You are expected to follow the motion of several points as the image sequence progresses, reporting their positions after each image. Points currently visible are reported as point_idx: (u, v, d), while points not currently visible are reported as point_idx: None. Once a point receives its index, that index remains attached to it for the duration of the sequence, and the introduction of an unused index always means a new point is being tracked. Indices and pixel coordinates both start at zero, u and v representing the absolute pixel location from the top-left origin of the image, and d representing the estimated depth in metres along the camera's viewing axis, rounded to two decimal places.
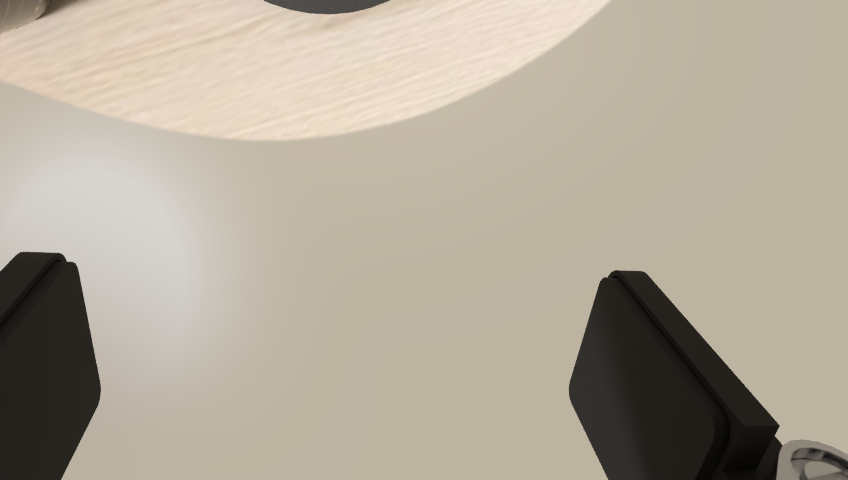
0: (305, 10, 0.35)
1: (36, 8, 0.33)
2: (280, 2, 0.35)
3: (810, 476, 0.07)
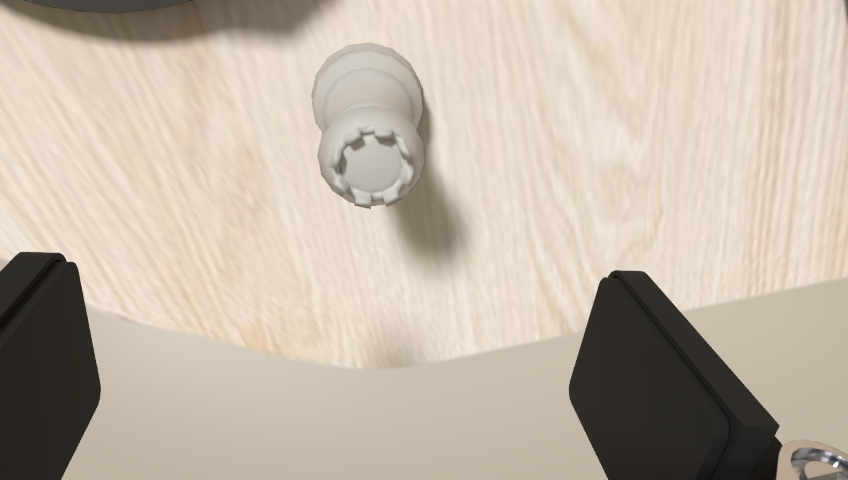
0: None
1: None
2: None
3: (810, 476, 0.07)
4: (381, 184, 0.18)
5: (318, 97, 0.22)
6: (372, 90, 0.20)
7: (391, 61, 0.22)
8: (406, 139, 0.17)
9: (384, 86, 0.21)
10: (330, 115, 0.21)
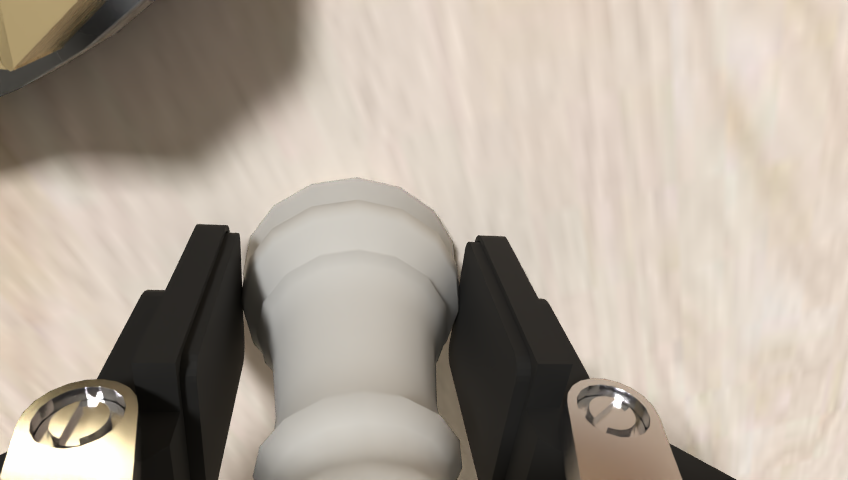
0: None
1: None
2: None
3: (595, 414, 0.08)
4: None
5: (250, 298, 0.11)
6: (363, 324, 0.09)
7: (401, 227, 0.10)
8: None
9: (389, 298, 0.09)
10: (272, 356, 0.10)
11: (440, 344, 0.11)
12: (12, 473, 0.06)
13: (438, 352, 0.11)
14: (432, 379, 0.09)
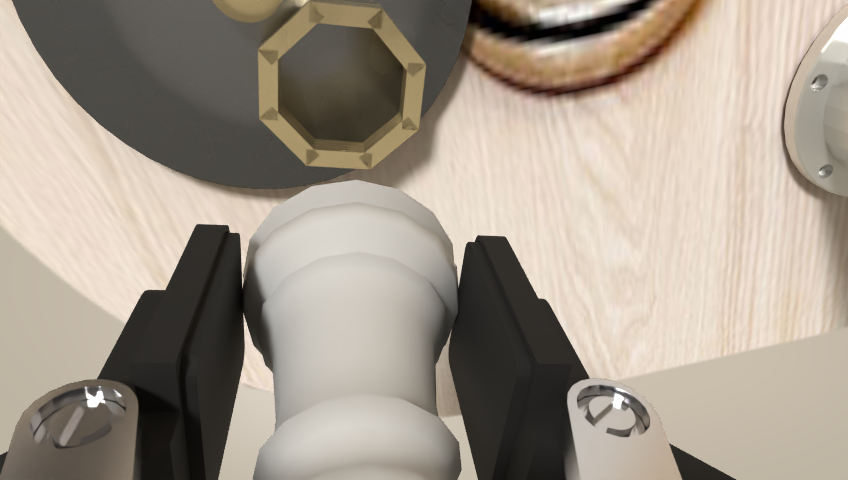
0: None
1: None
2: None
3: (595, 414, 0.08)
4: None
5: (250, 300, 0.11)
6: (363, 327, 0.09)
7: (400, 229, 0.10)
8: None
9: (389, 300, 0.09)
10: (272, 358, 0.10)
11: (440, 346, 0.11)
12: (12, 473, 0.06)
13: (438, 354, 0.11)
14: (432, 381, 0.09)
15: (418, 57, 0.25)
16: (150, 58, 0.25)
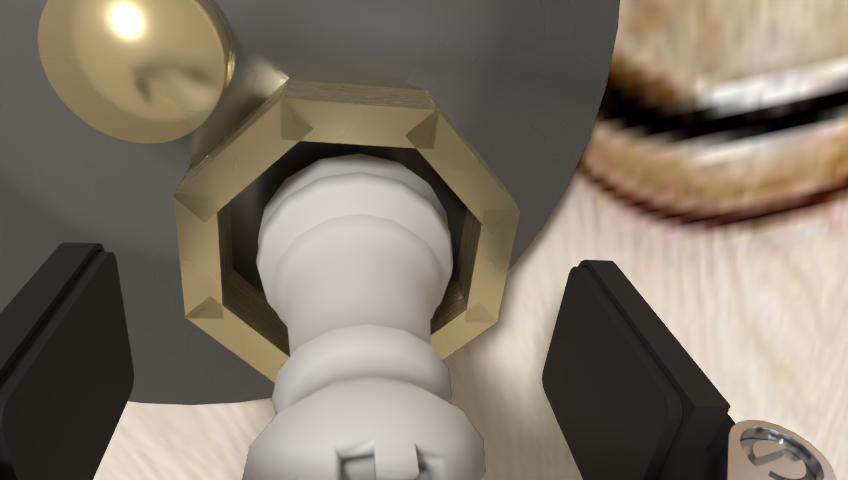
0: None
1: None
2: None
3: (759, 455, 0.07)
4: None
5: (265, 260, 0.12)
6: (366, 274, 0.10)
7: (399, 195, 0.12)
8: (450, 460, 0.07)
9: (389, 255, 0.11)
10: (285, 307, 0.11)
11: (435, 301, 0.12)
12: None
13: (433, 309, 0.12)
14: (426, 323, 0.10)
15: (506, 199, 0.12)
16: None
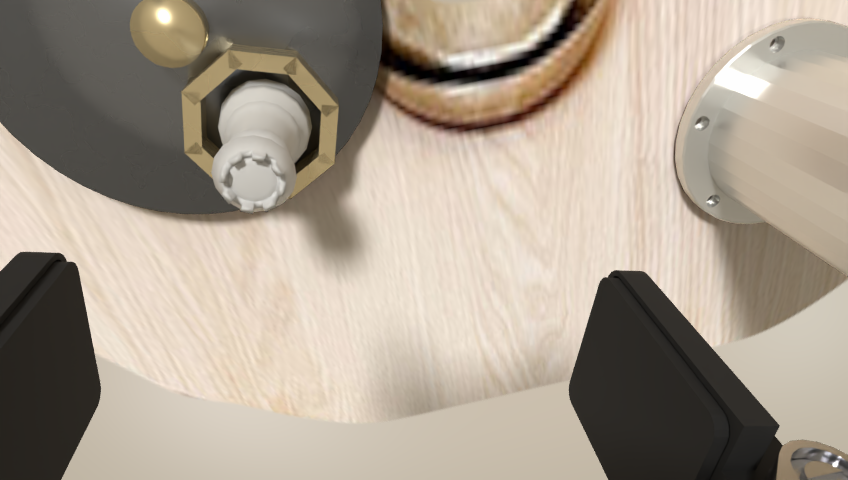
0: None
1: None
2: None
3: (810, 476, 0.07)
4: (261, 195, 0.23)
5: (222, 123, 0.27)
6: (261, 120, 0.25)
7: (281, 95, 0.27)
8: (278, 161, 0.22)
9: (273, 115, 0.26)
10: (230, 138, 0.26)
11: (298, 144, 0.27)
12: None
13: (297, 148, 0.27)
14: (286, 141, 0.25)
15: (331, 100, 0.28)
16: (82, 95, 0.27)
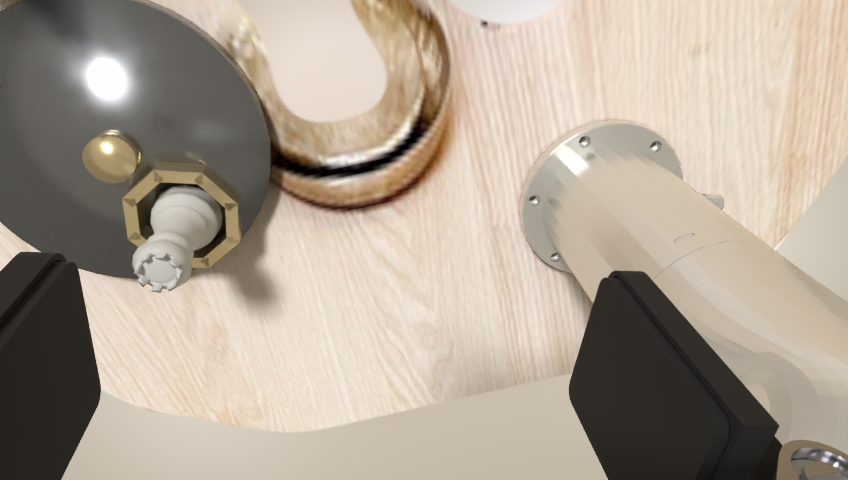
0: None
1: None
2: None
3: (810, 476, 0.07)
4: (166, 279, 0.33)
5: (152, 219, 0.38)
6: (174, 221, 0.36)
7: (193, 199, 0.37)
8: (176, 257, 0.33)
9: (184, 216, 0.36)
10: None
11: (206, 232, 0.38)
12: None
13: (207, 235, 0.38)
14: (192, 235, 0.36)
15: (231, 199, 0.38)
16: (54, 200, 0.38)
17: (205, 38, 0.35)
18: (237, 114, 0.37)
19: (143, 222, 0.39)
